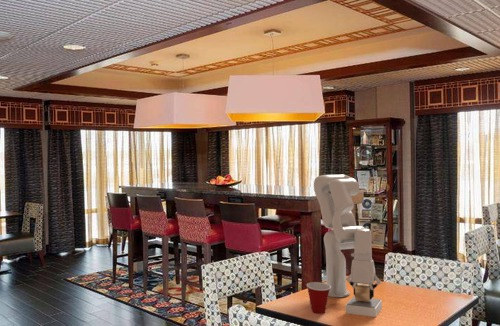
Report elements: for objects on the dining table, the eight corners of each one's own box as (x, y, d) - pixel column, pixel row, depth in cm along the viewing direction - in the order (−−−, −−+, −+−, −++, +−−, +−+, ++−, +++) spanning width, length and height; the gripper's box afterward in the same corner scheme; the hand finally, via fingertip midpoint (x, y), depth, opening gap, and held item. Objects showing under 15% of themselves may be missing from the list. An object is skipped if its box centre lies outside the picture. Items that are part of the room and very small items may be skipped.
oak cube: (355, 300, 212) (355, 286, 211) (358, 296, 217) (358, 283, 217) (368, 301, 209) (368, 288, 209) (372, 298, 214) (371, 284, 214)
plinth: (345, 313, 210) (345, 304, 210) (353, 304, 222) (353, 296, 222) (375, 317, 204) (375, 307, 204) (381, 308, 216) (381, 299, 216)
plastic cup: (325, 317, 205) (325, 289, 205) (302, 313, 210) (302, 286, 210) (335, 310, 214) (334, 283, 214) (313, 306, 220) (312, 280, 220)
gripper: (341, 256, 213) (342, 297, 213) (381, 259, 205) (381, 302, 206) (346, 253, 220) (346, 293, 220) (384, 256, 212) (385, 297, 212)
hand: (363, 297), depth 213 cm, fingers closed on oak cube, 5 cm apart
